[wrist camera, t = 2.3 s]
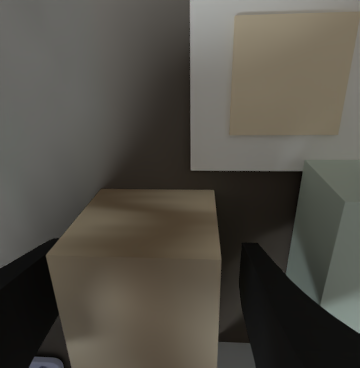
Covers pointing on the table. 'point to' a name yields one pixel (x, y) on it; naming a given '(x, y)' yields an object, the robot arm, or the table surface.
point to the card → (273, 83)
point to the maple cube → (140, 280)
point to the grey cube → (235, 355)
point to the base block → (329, 238)
